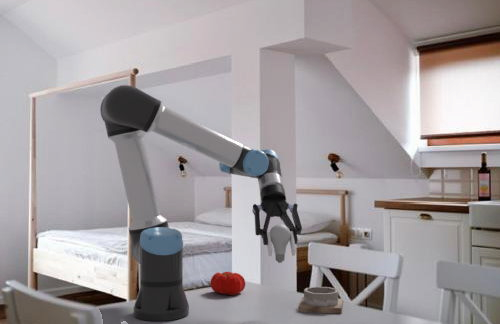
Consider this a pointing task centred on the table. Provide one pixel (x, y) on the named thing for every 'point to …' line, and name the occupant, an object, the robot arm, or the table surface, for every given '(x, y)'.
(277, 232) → the lightbulb
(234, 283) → the tomato
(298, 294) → the table surface
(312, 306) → the bulb socket
